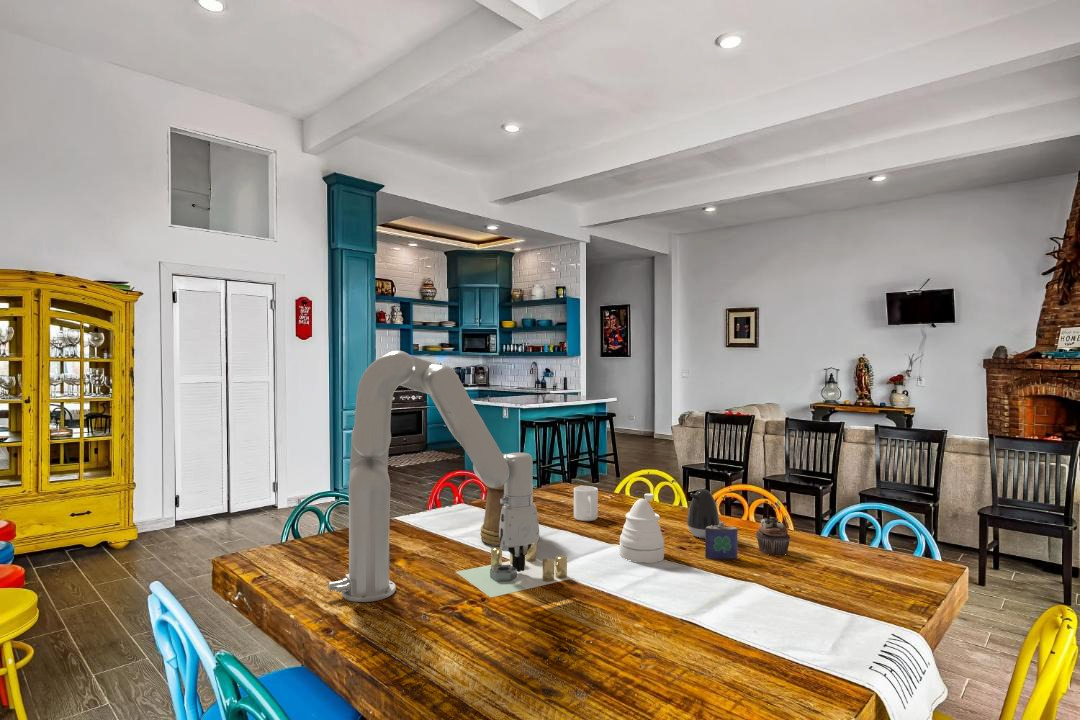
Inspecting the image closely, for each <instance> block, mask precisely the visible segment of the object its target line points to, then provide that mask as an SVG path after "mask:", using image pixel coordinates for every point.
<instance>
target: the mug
mask: <svg viewBox="0 0 1080 720" xmlns="http://www.w3.org/2000/svg"><path fill="white" fill-rule="evenodd" d="M598 494H599V489H598V487H595V486H591V485H590V486H589V485H579V486H575V487H573V518H574V519H575V520H577V521H581V522H591V521H595V520H597V519H598V516H599V512H598V511H599V509H598V508H599V506H598V505H599V501H598V499H599V495H598Z"/></svg>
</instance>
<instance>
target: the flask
mask: <svg viewBox="0 0 1080 720" xmlns="http://www.w3.org/2000/svg"><path fill="white" fill-rule="evenodd" d="M719 522H720V525H718V526H716V527H714V526H715V525H714V526H712V525H711V526H708V527H706V528H705V538H704V541H705V544H704V545H705V547H704V548H705V549H704V551H705V552H704V554H705V555H704V557H705V559H706V560H710V559H711V560H713V561H734V560H738V557H739V556H738V544H739V543H738V540H739V538H738V533H739V532H738V528H737V527H735V526H726V525H725V524H726V523H725V522H724V521H719Z"/></svg>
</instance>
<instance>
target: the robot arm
mask: <svg viewBox="0 0 1080 720" xmlns="http://www.w3.org/2000/svg"><path fill="white" fill-rule="evenodd" d="M398 387H403V388H407V389H410V390H412V391H416V392H420V393H423V394H427V395H429V396H430V399H431V400H432V402H433V403H434V405H435V407H436V409H437V410H438V412H439V414H440V416H441V418H442V419H443V421H444V423H445V425H446V427H447V428H448V429H447V430H449V432H450V433H451V435H452V437H454V439H455V440H456V441H457V443H459V444H460V446H461V447H462V448H463V450H464V451H465V452H466V454H467V456H468V457H469V459H470V461H471V463H472V464H473V465H472V468H473V469H472V470H473V472H474V473H473V474H475V476H476V477H477V478H478V479H479V480H480V481H481V482H482V483H483V484H484V485H485V486H486V487H487V486H488V487H491V488H498V487H501V486H503V485H504V498H502V499H500V503H501V504H504V506H502V510H501V516H500V525H499V541H500V543H501V544H500V546H499V547H500V550H502V552H509V554H510V553H511V554H512V566H513V567H515V568H516V569H517V571H518V572H521V571H524V566H525V558H526V555H527V551H528V550H529V548H530V547H532V546H534V545H536V546H537V543H538V541H540V525H539V523H540V522H539V514H538V510H537V506H536V504H535V503H534V502H533V501H534V500H533V497H534V495H533V494H534V492H533V491H534V489H533V486H534V483H533V476H534V475H533V474H534V473H533V470H534V466H533V457H532V455H531V454H530V453H526V452H510V453H502V451H501V450H500V447H499V446H498V444H497V442H496V441H495V439H494V437H493V436H492V434H491V432H490V431H489V429H488V427H487V426H486V424H485V422H484V420H483V419H482V417H481V415H480V414H479V412H478V410H477V409H476V406H475V405H474V403H473V401H472V400H471V398H470V396H469V394H468V392H467V390H466V388H465V387H464V385H463V383H462V381H461V379H460V378H459V375H458V374H457V373H456V371H455V370H454V369H453V368H451V367H450V366H448V365H446V364H440V363H435V362H432V361H428V360H425V359H422V358H419V357H417V356H415V355H414V356H413V355H411V354H409V353H407V352H405V351H403V350H392V351H389V352H387V353H386V354H384V355H382V356H380V357H379V358H377V359H375V360H373V362H371V363H370V364H369V366H368V367H366V369H365V371H364V372H363V373H362V375H361V377H360V379H359V383H358V385H357V391H356V399H355V401H356V402H355V409H354V410H355V411H354V423H353V427H352V431H351V438H350V439H351V440H350V441H351V443H350V463H349V477H348V478H349V479H348V573H346V574H345V575H344V576H345V578H342V579H341V580H338V581H337V580H336V581H331V582H330V581H329V582H328V585H327V586H328V591H329V592H331V591H336V592H337V593H339V592H342V593H341V595H342V598H344V599H345V600H346V601H349V602H353V603H356V602H357V603H369V602H371V603H372V602H377V601H381V600H385V599H386V598H389V597H390V596H392V595H393V594H394V593H395V592H396V589H397V588H396V584H395V582H393V581H392V580H390V509H391V507H390V505H391V502H390V501H391V480H390V475H389V473H388V472H389V471H388V468H389V452H390V451H389V449H390V444H391V441H392V432H391V419H392V418H391V417H392V414H391V413H392V405H393V398H394V393H395V391H396V390H397V388H398ZM488 487H487V488H488ZM518 546H519V547H518Z"/></svg>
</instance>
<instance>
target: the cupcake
mask: <svg viewBox="0 0 1080 720" xmlns="http://www.w3.org/2000/svg"><path fill="white" fill-rule="evenodd" d="M760 524H761V525H759V526H758V527H759V528H758V530H756V532H755V536H756V540H757V544H758V551H759V552H760V553H762V554H763V553H764V555H767V554H769V555H768V556H771V555H784V556H786V555H787V554H788V551H789V545H790V542H791V536H790V535H789V534H788V533H789V532H788V530H787V528H786V526H784V523H783V522H781V521H779V518H777V517H776V518H775V517H773V518H771V517H770V518H769V517H763V518H762V519H761V520H760ZM785 554H786V555H785Z"/></svg>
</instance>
